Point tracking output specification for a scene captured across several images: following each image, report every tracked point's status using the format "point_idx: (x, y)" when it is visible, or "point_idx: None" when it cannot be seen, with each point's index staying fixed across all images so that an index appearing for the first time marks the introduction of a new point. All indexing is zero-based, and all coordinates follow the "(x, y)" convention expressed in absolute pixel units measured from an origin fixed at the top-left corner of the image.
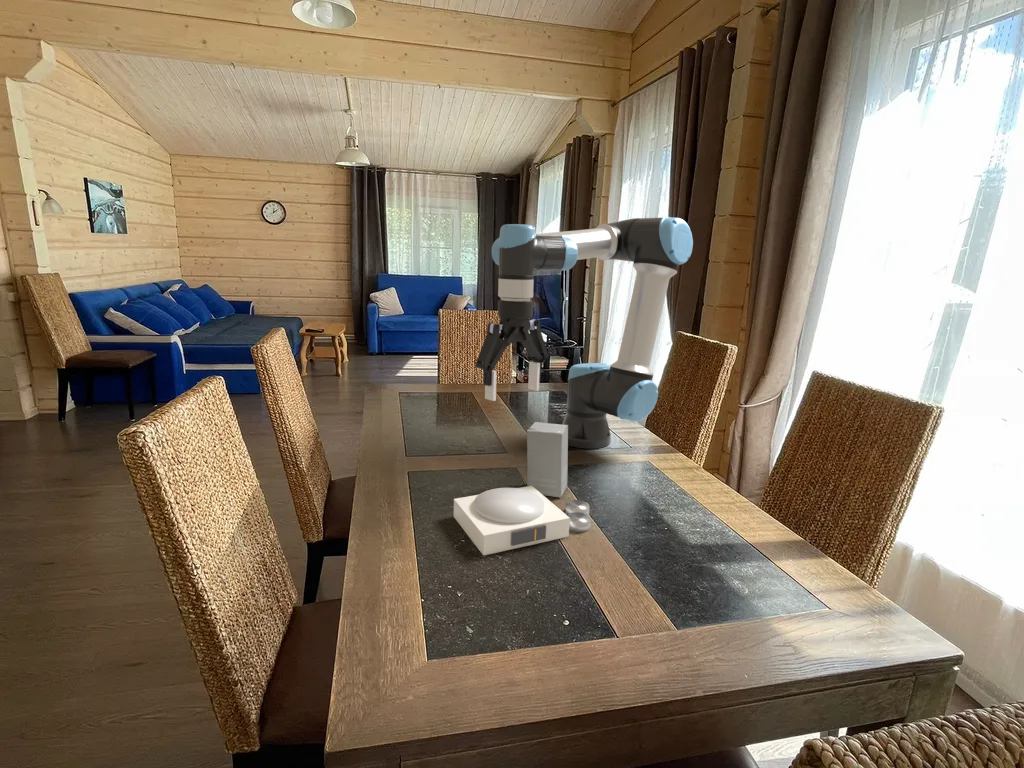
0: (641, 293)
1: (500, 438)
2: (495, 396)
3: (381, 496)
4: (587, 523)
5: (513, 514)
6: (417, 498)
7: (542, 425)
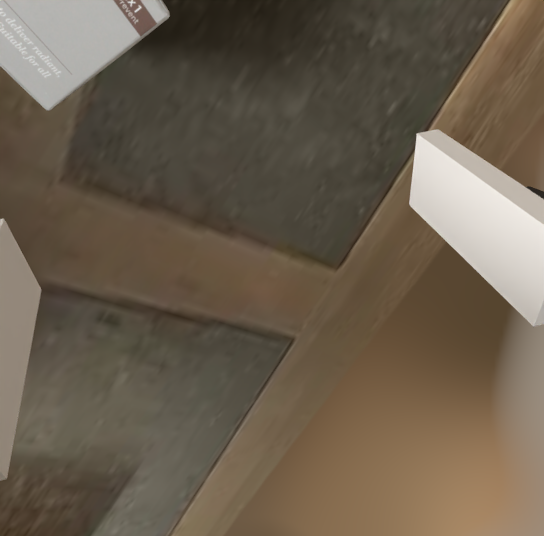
0: None
1: None
2: (436, 143)
3: None
4: None
5: None
6: (413, 127)
7: (40, 21)
